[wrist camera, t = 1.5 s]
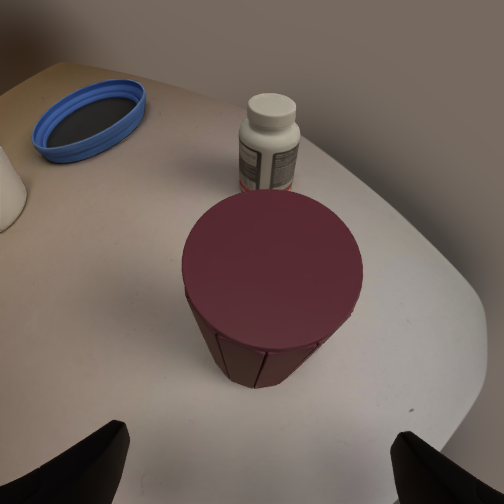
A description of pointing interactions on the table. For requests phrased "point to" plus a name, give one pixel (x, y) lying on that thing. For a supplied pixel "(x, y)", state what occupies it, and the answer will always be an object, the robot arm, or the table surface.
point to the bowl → (89, 120)
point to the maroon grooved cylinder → (269, 282)
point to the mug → (10, 193)
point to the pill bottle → (268, 143)
